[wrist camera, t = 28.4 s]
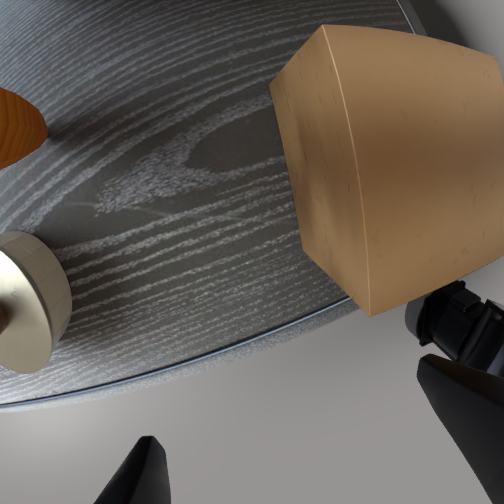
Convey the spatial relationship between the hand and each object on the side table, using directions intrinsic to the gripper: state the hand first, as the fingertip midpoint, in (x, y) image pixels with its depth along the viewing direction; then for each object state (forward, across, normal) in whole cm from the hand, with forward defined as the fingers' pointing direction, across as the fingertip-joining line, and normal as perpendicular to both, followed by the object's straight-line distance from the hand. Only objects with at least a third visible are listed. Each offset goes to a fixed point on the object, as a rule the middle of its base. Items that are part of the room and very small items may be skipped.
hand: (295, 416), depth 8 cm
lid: (+8, +17, -3) cm, 19 cm away
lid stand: (+12, -10, -6) cm, 16 cm away
